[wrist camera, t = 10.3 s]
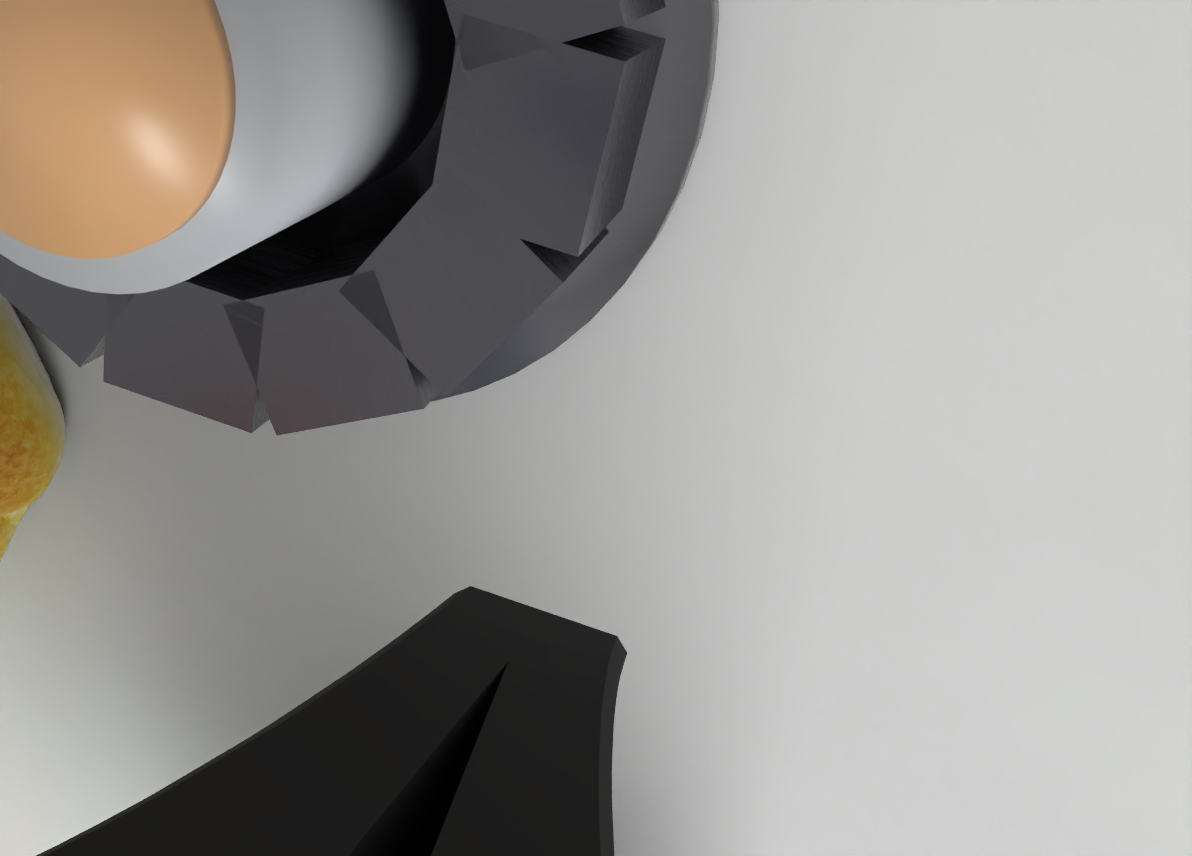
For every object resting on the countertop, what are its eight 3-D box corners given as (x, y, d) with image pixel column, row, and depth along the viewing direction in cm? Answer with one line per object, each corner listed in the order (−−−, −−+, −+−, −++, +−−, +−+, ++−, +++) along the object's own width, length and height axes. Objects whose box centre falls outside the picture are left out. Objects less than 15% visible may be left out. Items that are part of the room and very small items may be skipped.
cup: (431, 231, 17) (252, 355, 12) (134, 149, 18) (-143, 237, 13) (479, -131, 15) (281, -149, 10) (135, -211, 15) (-201, -262, 11)
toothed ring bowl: (603, 485, 19) (551, 583, 16) (-29, 270, 20) (-175, 327, 17) (841, -365, 13) (826, -435, 10) (-54, -582, 14) (-275, -696, 12)
